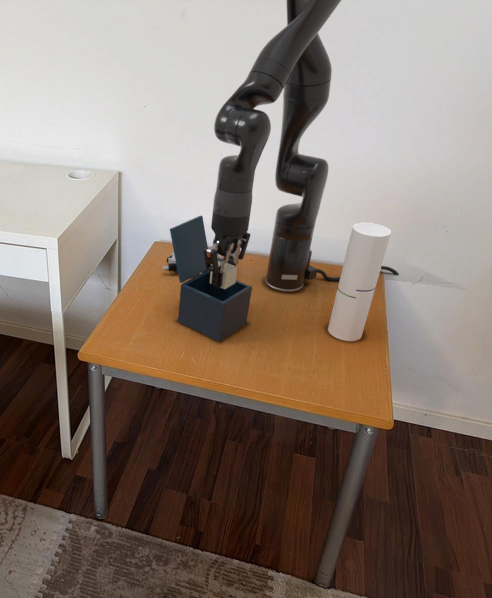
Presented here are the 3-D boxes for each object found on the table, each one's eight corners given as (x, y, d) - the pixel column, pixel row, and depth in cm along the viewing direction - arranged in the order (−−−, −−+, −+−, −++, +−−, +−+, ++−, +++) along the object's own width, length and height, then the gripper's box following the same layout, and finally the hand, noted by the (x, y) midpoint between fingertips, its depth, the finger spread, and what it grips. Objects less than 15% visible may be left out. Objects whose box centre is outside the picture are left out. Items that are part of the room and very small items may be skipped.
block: (235, 283, 125) (237, 267, 123) (224, 289, 123) (226, 273, 121) (220, 276, 128) (222, 260, 126) (209, 283, 125) (211, 266, 123)
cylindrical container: (364, 342, 125) (394, 237, 112) (330, 339, 126) (356, 235, 113) (358, 325, 131) (386, 223, 118) (325, 321, 132) (349, 221, 119)
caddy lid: (202, 215, 130) (199, 215, 130) (172, 228, 123) (169, 228, 124) (211, 267, 133) (208, 267, 134) (182, 282, 127) (179, 282, 128)
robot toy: (160, 279, 152) (216, 285, 146) (159, 263, 149) (217, 269, 144) (173, 259, 161) (226, 265, 156) (172, 245, 159) (227, 250, 154)
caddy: (246, 323, 131) (252, 286, 126) (219, 342, 125) (223, 303, 120) (205, 304, 139) (209, 269, 134) (177, 321, 132) (180, 284, 127)
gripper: (226, 223, 110) (217, 300, 119) (267, 204, 118) (255, 277, 127) (195, 213, 115) (188, 287, 123) (236, 195, 123) (227, 266, 132)
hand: (222, 282), depth 125 cm, fingers closed on block, 4 cm apart
